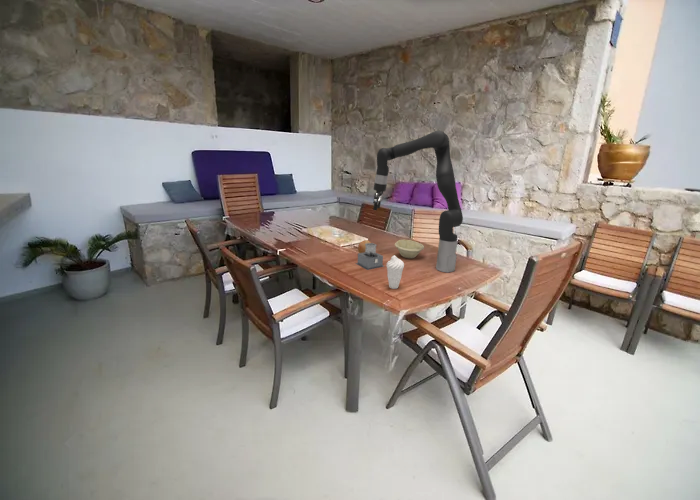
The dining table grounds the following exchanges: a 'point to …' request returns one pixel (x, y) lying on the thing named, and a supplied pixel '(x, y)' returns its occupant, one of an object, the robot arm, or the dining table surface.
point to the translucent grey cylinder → (370, 249)
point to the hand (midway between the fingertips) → (376, 209)
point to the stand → (370, 261)
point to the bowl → (409, 248)
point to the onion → (362, 246)
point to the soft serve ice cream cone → (394, 271)
